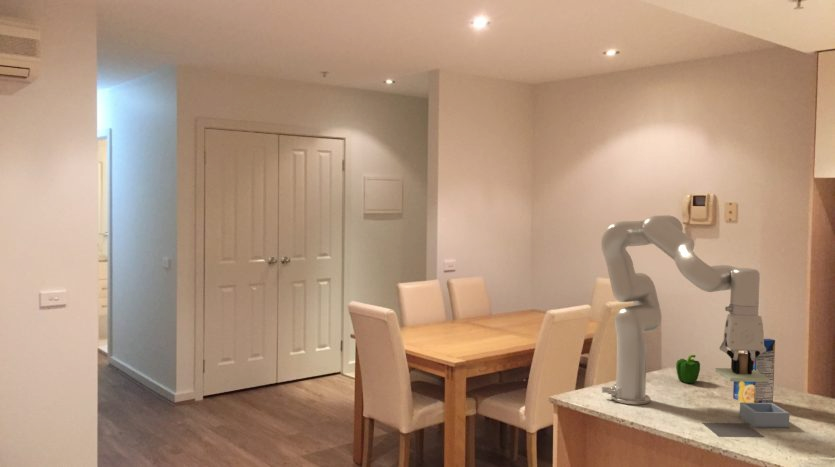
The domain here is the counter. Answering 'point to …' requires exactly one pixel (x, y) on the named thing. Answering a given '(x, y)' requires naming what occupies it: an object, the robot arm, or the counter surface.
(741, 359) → the lid
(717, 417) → the counter surface
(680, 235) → the robot arm
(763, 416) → the dish
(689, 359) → the bell pepper
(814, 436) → the counter surface
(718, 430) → the mat
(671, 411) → the counter surface
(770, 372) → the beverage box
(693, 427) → the counter surface
